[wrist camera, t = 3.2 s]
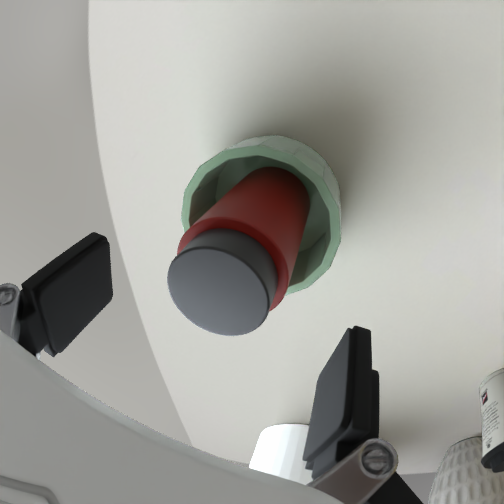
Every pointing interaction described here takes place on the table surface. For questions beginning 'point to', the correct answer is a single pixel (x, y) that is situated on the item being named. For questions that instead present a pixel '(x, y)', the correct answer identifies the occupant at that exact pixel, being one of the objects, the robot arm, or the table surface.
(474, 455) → the vase
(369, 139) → the table surface
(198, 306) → the sauce bottle
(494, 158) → the table surface
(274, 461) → the bottle
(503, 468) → the coffee cup
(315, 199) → the stoneware cup
